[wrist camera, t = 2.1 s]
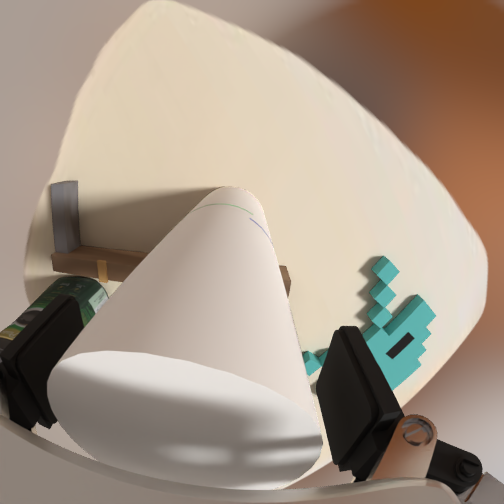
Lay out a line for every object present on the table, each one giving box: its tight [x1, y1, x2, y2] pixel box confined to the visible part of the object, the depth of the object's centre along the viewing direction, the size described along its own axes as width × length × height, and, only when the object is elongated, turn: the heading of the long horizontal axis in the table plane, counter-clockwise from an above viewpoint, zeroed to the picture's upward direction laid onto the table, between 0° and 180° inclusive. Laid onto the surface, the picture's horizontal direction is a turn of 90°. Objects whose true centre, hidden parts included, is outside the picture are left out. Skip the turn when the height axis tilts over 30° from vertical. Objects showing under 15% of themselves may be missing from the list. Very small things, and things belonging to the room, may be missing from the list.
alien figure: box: [302, 256, 436, 390], centre depth 35 cm, size 20×2×20 cm
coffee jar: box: [0, 277, 109, 363], centre depth 23 cm, size 10×8×19 cm
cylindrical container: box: [47, 186, 323, 490], centre depth 17 cm, size 7×7×25 cm
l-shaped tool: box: [51, 181, 291, 297], centre depth 27 cm, size 10×27×4 cm, turn 84°
